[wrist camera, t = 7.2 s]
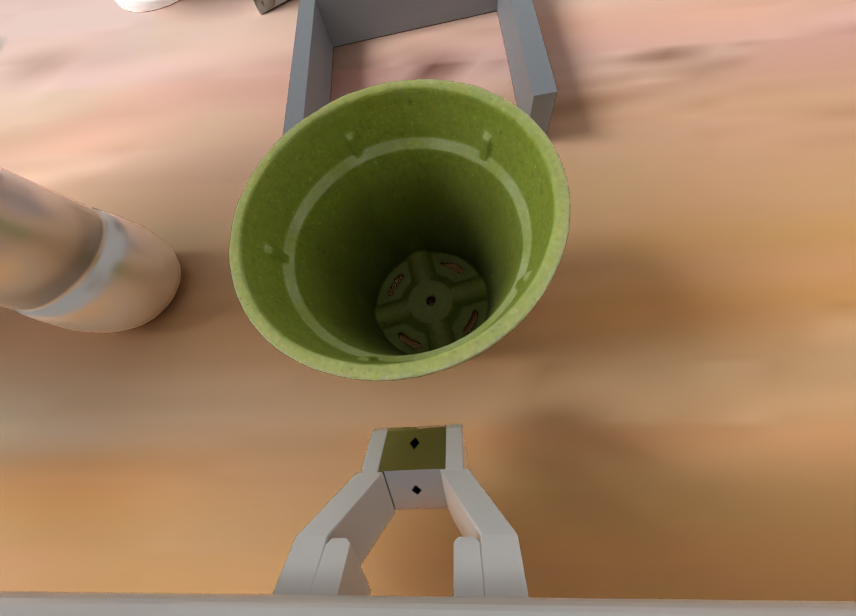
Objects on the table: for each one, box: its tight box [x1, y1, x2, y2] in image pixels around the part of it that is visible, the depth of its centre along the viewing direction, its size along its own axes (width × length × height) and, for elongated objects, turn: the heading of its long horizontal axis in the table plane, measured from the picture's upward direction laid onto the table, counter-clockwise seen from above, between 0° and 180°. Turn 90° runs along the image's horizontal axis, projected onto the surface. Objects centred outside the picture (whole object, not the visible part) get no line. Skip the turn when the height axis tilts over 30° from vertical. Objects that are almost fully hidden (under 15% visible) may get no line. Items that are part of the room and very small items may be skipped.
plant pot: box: [229, 79, 570, 381], centre depth 12 cm, size 9×9×9 cm
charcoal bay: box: [283, 0, 558, 135], centre depth 20 cm, size 15×14×3 cm
